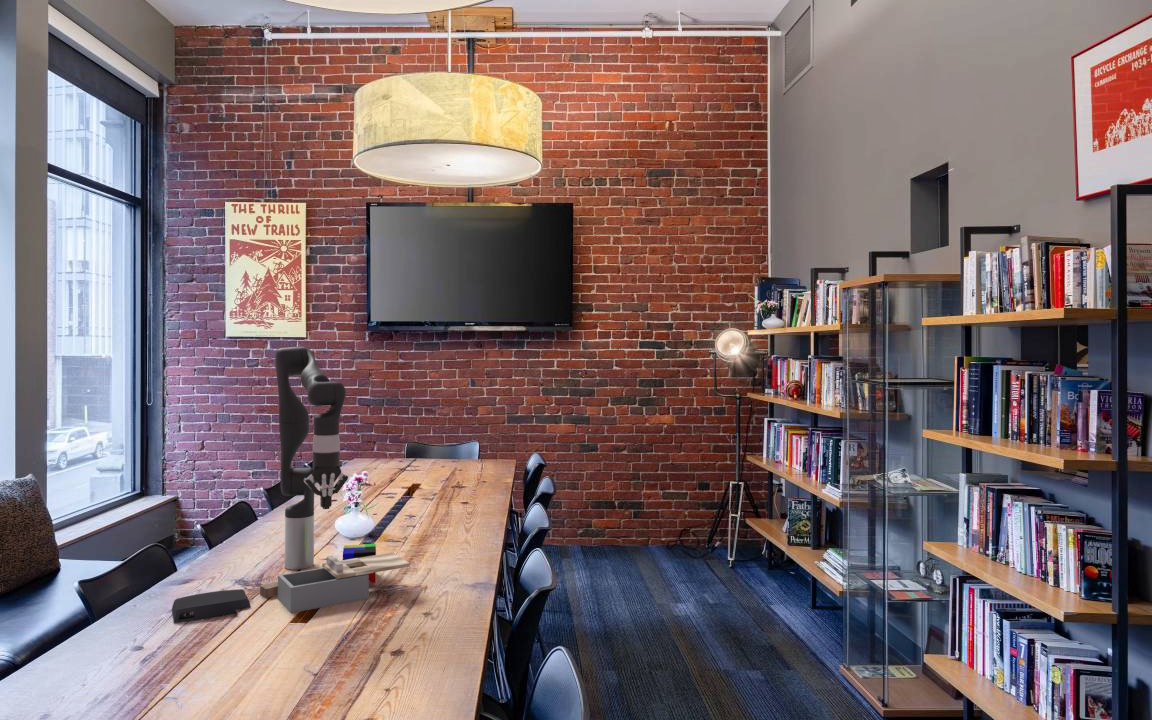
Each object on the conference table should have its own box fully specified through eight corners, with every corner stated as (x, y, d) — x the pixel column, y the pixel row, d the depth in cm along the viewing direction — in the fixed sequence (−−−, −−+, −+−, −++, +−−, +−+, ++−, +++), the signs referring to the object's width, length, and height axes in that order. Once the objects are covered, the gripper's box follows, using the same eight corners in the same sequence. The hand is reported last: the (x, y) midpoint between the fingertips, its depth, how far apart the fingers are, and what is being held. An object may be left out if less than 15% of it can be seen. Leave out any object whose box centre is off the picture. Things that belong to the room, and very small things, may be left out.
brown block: (260, 585, 220) (308, 575, 231) (259, 599, 220) (308, 587, 231) (265, 588, 217) (314, 578, 228) (265, 602, 217) (314, 591, 228)
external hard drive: (171, 611, 210) (171, 596, 210) (245, 599, 220) (245, 585, 220) (173, 626, 199) (173, 610, 199) (252, 613, 209) (252, 598, 209)
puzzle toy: (342, 585, 233) (342, 553, 233) (343, 576, 243) (343, 545, 242) (375, 583, 236) (375, 551, 235) (375, 573, 245) (375, 543, 245)
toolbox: (277, 602, 217) (277, 574, 217) (352, 588, 230) (352, 562, 230) (290, 616, 206) (290, 587, 205) (368, 601, 218) (368, 574, 218)
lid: (322, 566, 224) (322, 555, 224) (392, 555, 237) (392, 545, 237) (337, 578, 213) (337, 567, 213) (409, 566, 226) (410, 555, 226)
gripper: (306, 453, 211) (306, 513, 212) (352, 449, 219) (352, 508, 220) (299, 449, 218) (299, 508, 218) (344, 446, 225) (344, 503, 226)
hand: (326, 508), depth 219 cm, fingers closed
